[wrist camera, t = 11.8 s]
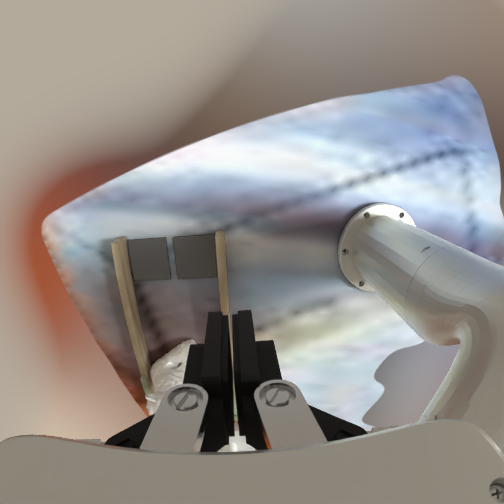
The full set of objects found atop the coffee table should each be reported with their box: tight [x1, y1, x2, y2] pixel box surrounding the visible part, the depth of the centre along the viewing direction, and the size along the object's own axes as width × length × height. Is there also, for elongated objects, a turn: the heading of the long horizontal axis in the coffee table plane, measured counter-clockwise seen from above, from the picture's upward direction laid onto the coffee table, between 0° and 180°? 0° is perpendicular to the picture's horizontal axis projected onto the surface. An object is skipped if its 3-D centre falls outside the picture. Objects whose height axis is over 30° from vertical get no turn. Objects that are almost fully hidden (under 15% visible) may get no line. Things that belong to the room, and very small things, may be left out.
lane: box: [111, 231, 238, 421], centre depth 40 cm, size 14×30×4 cm, turn 2°
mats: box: [128, 235, 217, 281], centre depth 39 cm, size 11×6×1 cm, turn 92°
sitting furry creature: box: [145, 339, 197, 415], centre depth 38 cm, size 10×9×12 cm
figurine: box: [219, 422, 255, 452], centre depth 42 cm, size 7×9×15 cm
